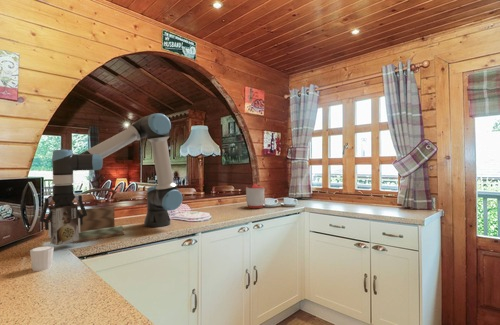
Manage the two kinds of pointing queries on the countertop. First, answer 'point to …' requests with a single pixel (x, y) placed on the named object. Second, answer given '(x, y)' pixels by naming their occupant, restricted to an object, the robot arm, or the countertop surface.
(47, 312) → the countertop surface
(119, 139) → the robot arm
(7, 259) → the countertop surface
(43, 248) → the white cylinder
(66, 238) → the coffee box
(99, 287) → the countertop surface
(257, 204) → the citrus juicer
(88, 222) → the wall rack
